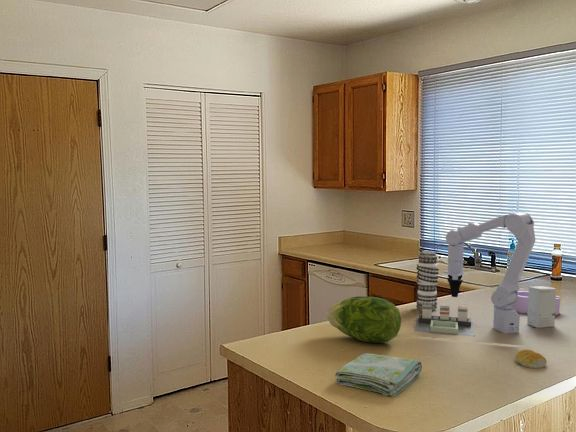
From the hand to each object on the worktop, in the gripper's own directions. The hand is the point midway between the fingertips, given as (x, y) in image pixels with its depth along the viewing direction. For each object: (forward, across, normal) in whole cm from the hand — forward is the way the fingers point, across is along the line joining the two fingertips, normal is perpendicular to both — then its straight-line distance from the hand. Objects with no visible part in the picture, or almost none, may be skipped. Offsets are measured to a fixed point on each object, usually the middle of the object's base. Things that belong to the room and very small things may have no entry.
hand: (454, 294), depth 217 cm
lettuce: (+10, +37, -30) cm, 49 cm away
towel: (+11, +72, -20) cm, 75 cm away
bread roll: (+11, +45, +22) cm, 51 cm away
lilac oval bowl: (+11, -26, +32) cm, 43 cm away
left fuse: (+9, +8, -10) cm, 16 cm away
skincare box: (+10, -2, +32) cm, 34 cm away
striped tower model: (+10, -13, -11) cm, 20 cm away
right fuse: (+9, +8, +3) cm, 13 cm away
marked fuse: (+9, +8, -4) cm, 13 cm away
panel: (+10, +13, -3) cm, 17 cm away
